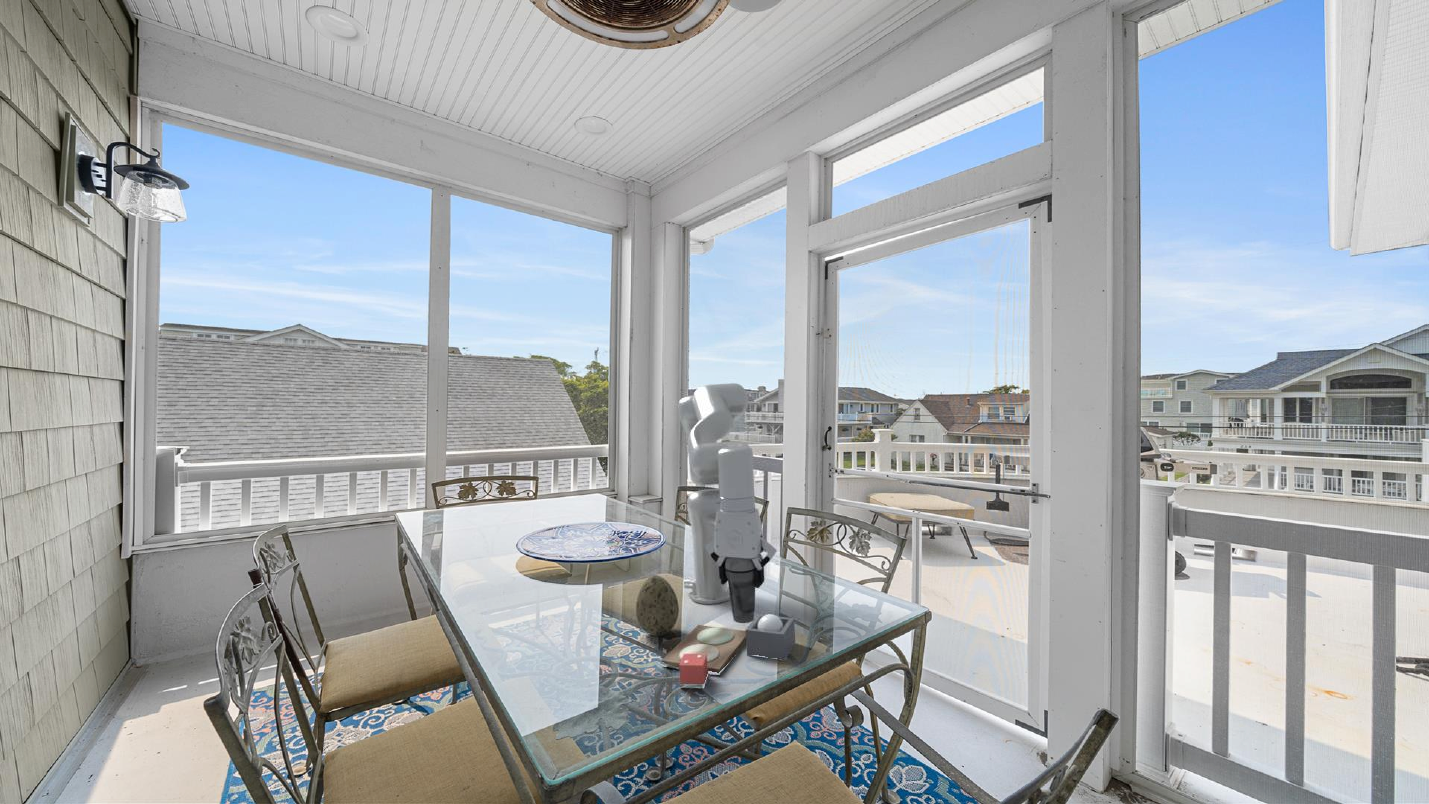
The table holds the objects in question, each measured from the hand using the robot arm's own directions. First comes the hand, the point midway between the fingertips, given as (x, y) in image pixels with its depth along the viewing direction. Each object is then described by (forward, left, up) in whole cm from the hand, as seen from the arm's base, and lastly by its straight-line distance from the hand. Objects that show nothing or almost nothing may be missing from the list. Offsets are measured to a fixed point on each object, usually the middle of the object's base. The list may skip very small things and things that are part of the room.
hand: (741, 583), depth 126 cm
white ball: (+2, +11, -17) cm, 20 cm away
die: (-9, -8, -19) cm, 23 cm away
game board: (-12, +5, -19) cm, 23 cm away
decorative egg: (-28, +11, -19) cm, 35 cm away
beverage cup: (0, 0, -8) cm, 8 cm away
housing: (+2, +11, -19) cm, 22 cm away
